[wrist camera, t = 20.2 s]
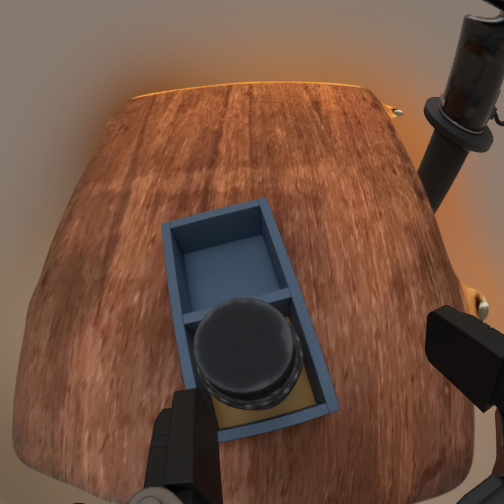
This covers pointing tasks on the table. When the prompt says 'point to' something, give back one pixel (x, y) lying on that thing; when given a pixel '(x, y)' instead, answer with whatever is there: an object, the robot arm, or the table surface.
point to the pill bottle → (247, 354)
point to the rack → (240, 286)
